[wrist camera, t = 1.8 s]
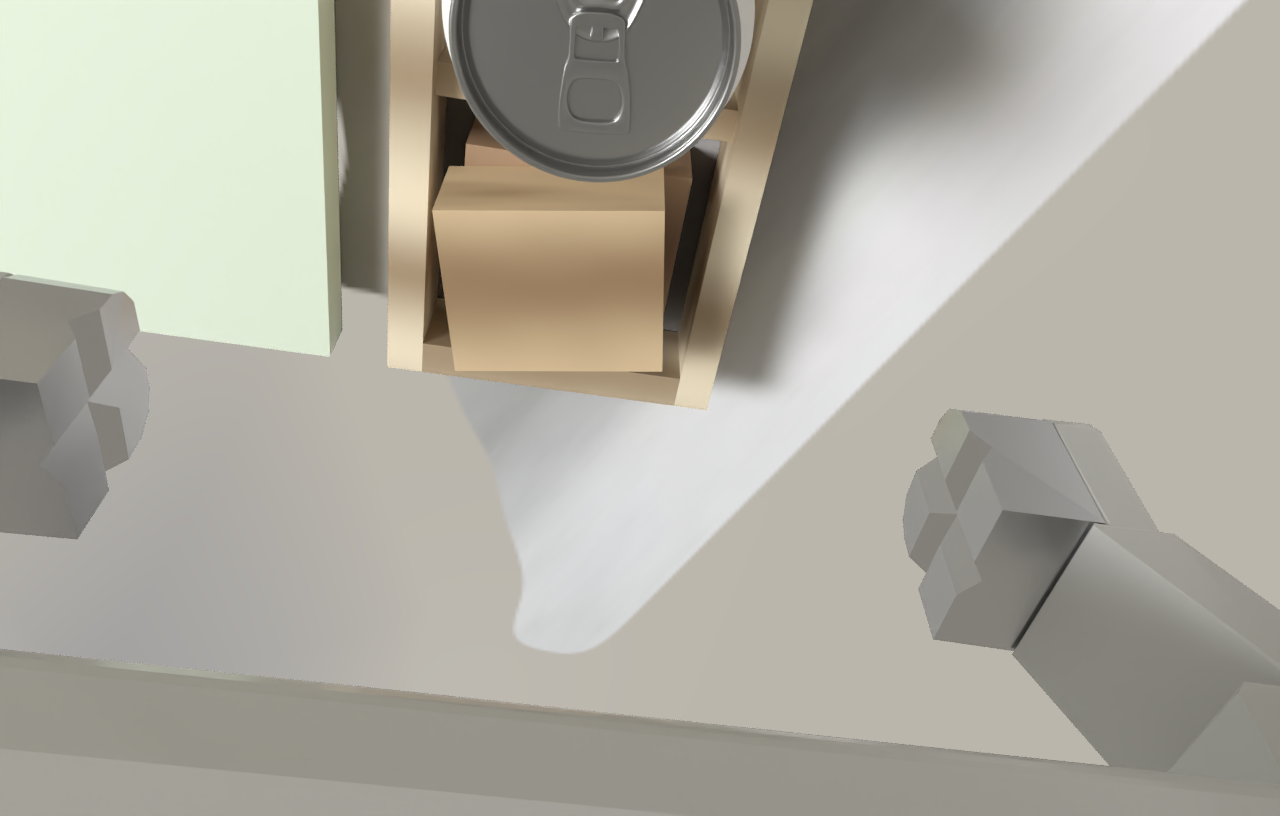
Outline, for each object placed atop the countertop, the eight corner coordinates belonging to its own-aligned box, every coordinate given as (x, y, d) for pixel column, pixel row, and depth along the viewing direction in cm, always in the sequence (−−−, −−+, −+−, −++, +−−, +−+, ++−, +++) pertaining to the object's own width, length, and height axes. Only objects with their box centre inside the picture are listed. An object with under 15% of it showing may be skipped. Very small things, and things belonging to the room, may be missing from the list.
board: (342, 329, 37) (330, 356, 36) (-49, 275, 36) (-78, 301, 34) (332, -69, 29) (316, -54, 27) (-180, -159, 27) (-225, -148, 26)
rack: (703, 362, 38) (706, 409, 36) (403, 320, 37) (387, 366, 35) (860, -273, 26) (882, -264, 23) (418, -362, 25) (394, -363, 22)
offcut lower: (658, 293, 37) (658, 338, 34) (468, 265, 36) (456, 309, 34) (689, 140, 33) (692, 179, 31) (479, 106, 32) (465, 143, 30)
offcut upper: (661, 320, 34) (662, 371, 31) (468, 319, 34) (455, 370, 31) (663, 166, 30) (665, 210, 28) (449, 166, 30) (432, 210, 28)
